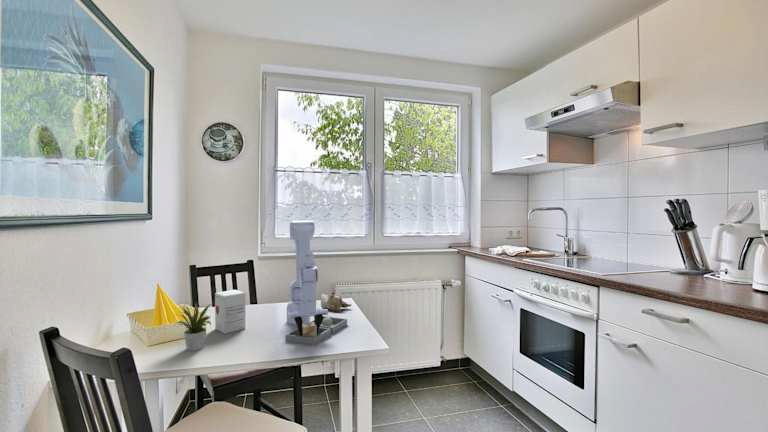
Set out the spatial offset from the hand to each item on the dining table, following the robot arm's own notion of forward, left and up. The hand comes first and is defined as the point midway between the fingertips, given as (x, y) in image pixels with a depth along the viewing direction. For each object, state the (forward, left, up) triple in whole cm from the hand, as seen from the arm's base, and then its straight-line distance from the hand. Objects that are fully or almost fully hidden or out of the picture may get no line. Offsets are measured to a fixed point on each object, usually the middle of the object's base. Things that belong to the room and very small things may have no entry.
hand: (308, 335), depth 139 cm
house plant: (-32, -23, -2) cm, 40 cm away
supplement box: (-36, -1, -2) cm, 37 cm away
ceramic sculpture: (-12, +40, -2) cm, 41 cm away
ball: (0, +14, -1) cm, 13 cm away
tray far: (0, +14, -1) cm, 14 cm away
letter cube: (0, 0, -1) cm, 1 cm away
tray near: (0, 0, -1) cm, 1 cm away
